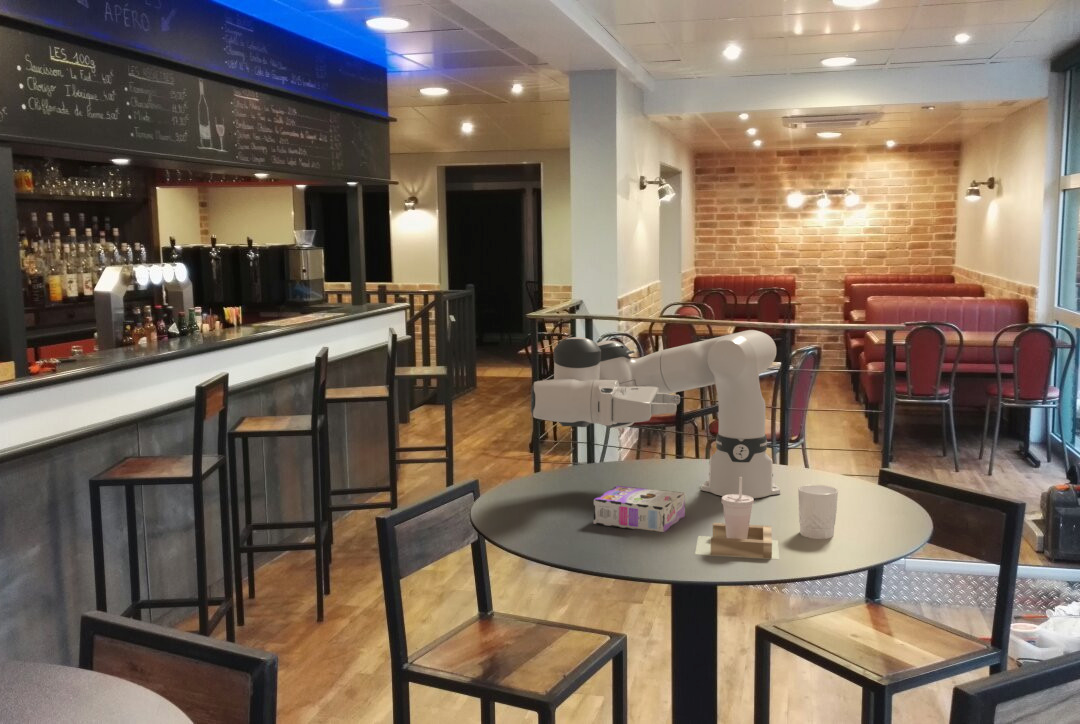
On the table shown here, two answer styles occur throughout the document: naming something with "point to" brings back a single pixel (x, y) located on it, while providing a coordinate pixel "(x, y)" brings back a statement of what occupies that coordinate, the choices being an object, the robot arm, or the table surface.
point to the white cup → (817, 511)
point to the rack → (742, 542)
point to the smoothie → (737, 513)
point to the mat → (705, 549)
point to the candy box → (639, 508)
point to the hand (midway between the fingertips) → (678, 403)
